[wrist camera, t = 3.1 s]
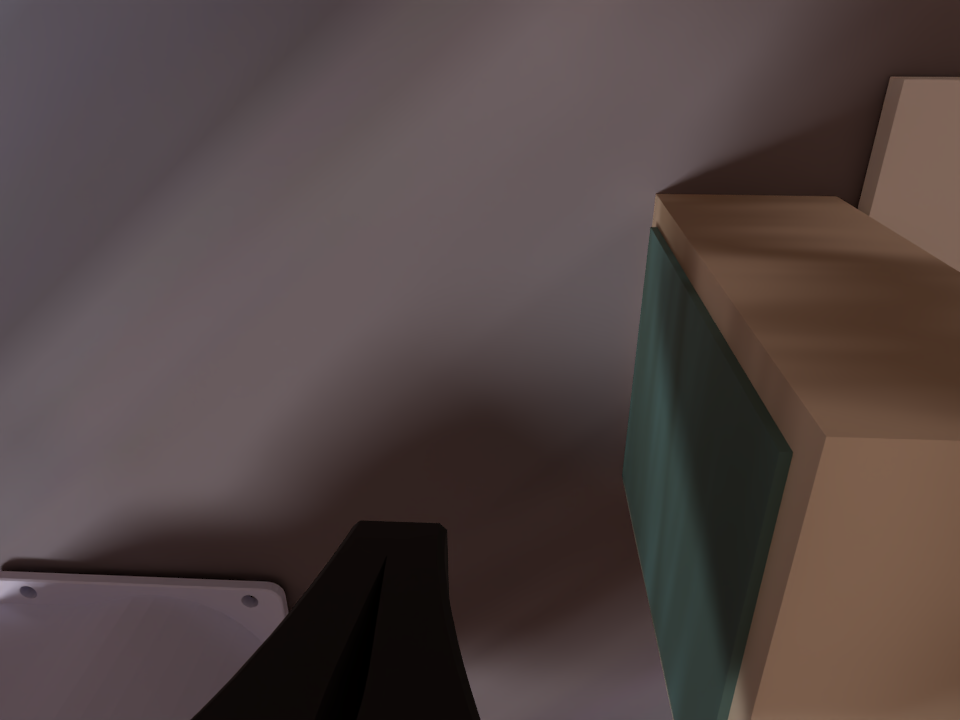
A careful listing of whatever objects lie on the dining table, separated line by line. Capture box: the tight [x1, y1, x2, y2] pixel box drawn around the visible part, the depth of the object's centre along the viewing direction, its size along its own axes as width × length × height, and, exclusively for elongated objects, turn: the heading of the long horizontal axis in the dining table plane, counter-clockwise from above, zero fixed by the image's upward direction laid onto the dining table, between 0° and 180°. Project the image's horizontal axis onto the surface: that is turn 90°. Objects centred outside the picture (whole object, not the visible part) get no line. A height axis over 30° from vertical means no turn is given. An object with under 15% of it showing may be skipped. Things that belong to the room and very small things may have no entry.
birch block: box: [622, 194, 960, 720], centre depth 13 cm, size 4×8×10 cm, turn 0°
